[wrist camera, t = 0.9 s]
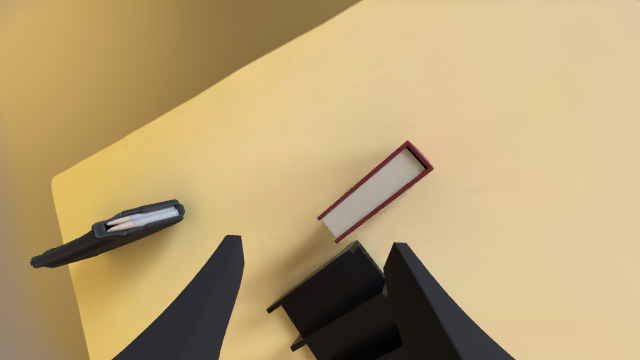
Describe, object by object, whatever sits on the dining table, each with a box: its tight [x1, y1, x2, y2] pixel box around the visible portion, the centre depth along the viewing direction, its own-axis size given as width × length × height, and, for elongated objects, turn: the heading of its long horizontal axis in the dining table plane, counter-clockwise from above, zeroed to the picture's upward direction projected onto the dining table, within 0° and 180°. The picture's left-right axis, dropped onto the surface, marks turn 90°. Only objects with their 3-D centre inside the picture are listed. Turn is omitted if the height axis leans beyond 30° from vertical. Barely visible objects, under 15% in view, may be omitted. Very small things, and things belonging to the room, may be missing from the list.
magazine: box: [30, 199, 185, 268], centre depth 39 cm, size 17×3×30 cm
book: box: [317, 140, 434, 244], centre depth 22 cm, size 3×10×6 cm, turn 132°
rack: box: [267, 240, 406, 360], centre depth 26 cm, size 16×14×3 cm
